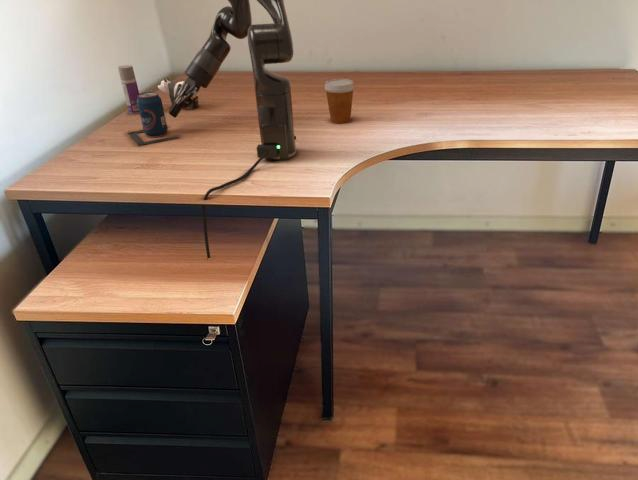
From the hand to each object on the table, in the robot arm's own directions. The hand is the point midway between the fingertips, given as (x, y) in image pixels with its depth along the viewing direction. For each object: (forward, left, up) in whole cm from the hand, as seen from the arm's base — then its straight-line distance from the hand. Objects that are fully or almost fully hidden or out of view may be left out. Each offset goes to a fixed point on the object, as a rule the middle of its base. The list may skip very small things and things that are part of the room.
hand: (171, 115), depth 166 cm
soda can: (-2, +5, -5) cm, 8 cm away
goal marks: (-3, +5, -5) cm, 8 cm away
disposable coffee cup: (+10, -51, -5) cm, 52 cm away
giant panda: (+26, +6, -5) cm, 28 cm away
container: (+20, +20, -5) cm, 29 cm away
